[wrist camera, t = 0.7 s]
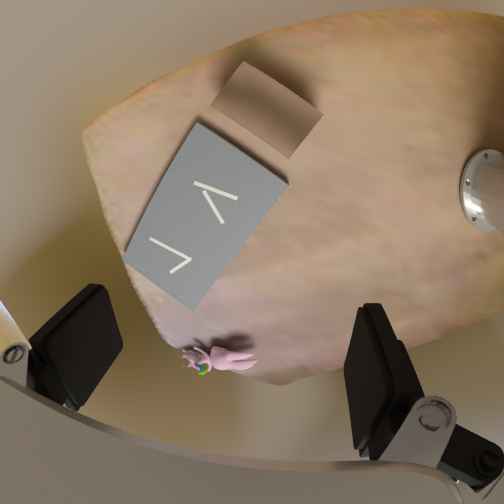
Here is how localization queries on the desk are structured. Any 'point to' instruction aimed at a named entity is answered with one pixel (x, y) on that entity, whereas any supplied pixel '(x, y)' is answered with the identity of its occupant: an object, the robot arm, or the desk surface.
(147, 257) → the slate board
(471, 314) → the desk surface
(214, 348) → the pink plastic figure
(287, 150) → the block
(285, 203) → the desk surface
